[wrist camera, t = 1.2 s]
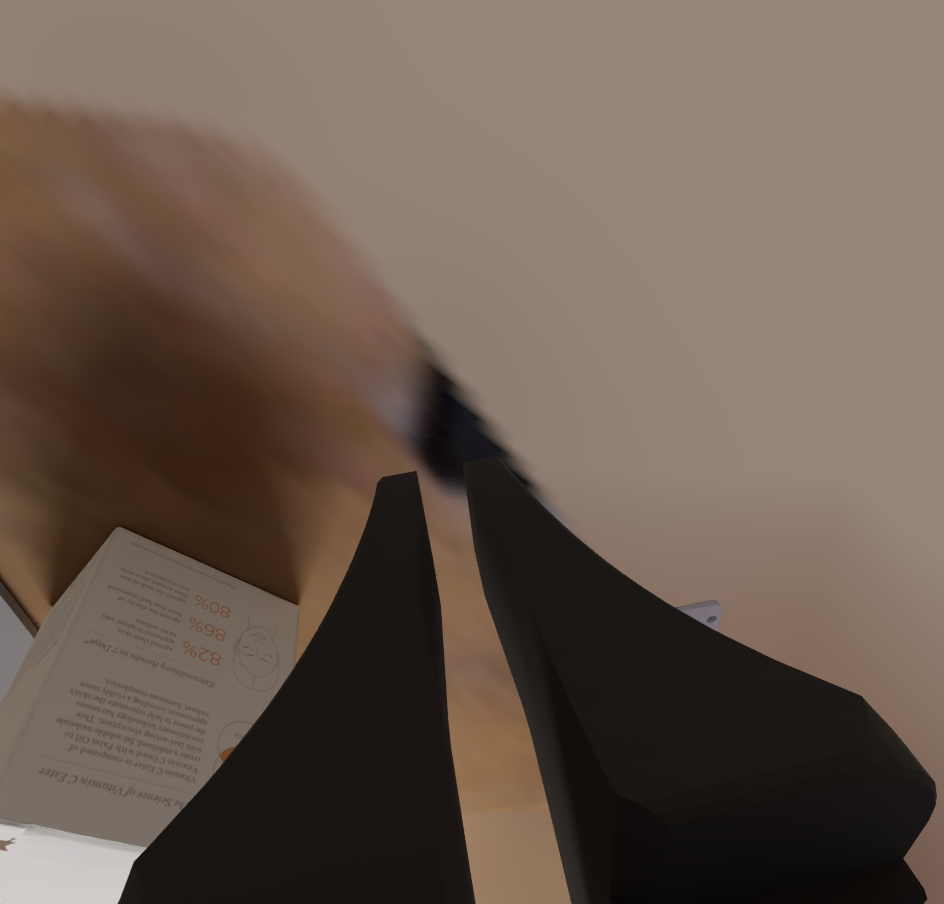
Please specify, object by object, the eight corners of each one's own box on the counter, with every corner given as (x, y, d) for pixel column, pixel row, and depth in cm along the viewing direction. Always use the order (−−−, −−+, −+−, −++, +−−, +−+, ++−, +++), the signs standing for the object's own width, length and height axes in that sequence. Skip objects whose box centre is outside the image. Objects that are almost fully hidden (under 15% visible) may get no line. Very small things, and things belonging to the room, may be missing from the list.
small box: (47, 609, 24) (-127, 928, 15) (119, 518, 22) (-29, 820, 13) (231, 677, 28) (177, 962, 19) (305, 605, 26) (282, 881, 17)
